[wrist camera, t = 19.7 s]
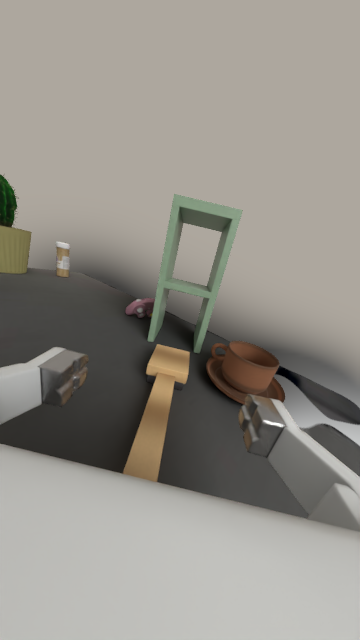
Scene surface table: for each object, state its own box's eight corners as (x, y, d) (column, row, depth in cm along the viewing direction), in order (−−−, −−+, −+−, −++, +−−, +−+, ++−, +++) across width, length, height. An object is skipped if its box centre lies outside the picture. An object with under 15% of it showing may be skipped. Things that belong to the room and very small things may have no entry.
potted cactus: (26, 268, 70) (20, 184, 60) (40, 276, 62) (36, 182, 53) (-33, 262, 57) (-52, 156, 48) (-24, 272, 50) (-44, 148, 40)
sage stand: (199, 353, 34) (242, 210, 26) (147, 340, 34) (174, 193, 26) (198, 334, 43) (229, 225, 35) (157, 324, 43) (179, 213, 35)
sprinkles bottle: (54, 274, 70) (53, 240, 66) (65, 275, 74) (65, 243, 70) (60, 277, 68) (59, 242, 64) (71, 277, 72) (72, 244, 68)
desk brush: (169, 542, 10) (180, 516, 9) (83, 520, 10) (85, 491, 9) (185, 367, 28) (189, 351, 27) (154, 359, 28) (157, 344, 27)
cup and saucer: (199, 397, 22) (212, 358, 20) (206, 356, 34) (215, 328, 32) (292, 432, 20) (317, 393, 18) (267, 376, 32) (281, 348, 30)
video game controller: (128, 323, 44) (136, 304, 39) (123, 311, 46) (130, 292, 42) (159, 321, 50) (169, 305, 46) (153, 310, 52) (162, 294, 48)
